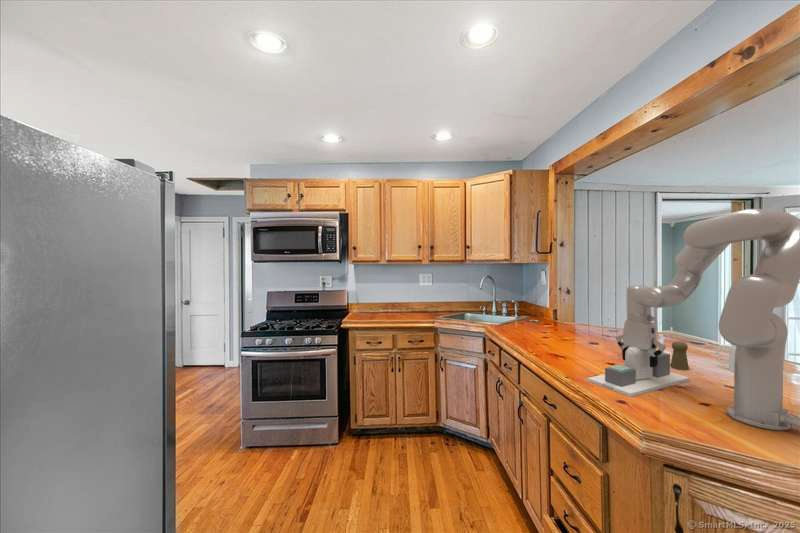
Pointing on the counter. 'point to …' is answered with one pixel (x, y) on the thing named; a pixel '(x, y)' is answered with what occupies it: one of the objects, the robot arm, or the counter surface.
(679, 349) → the olive green bristly cone
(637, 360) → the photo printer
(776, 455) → the counter surface
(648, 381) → the mounting board
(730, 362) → the cup
